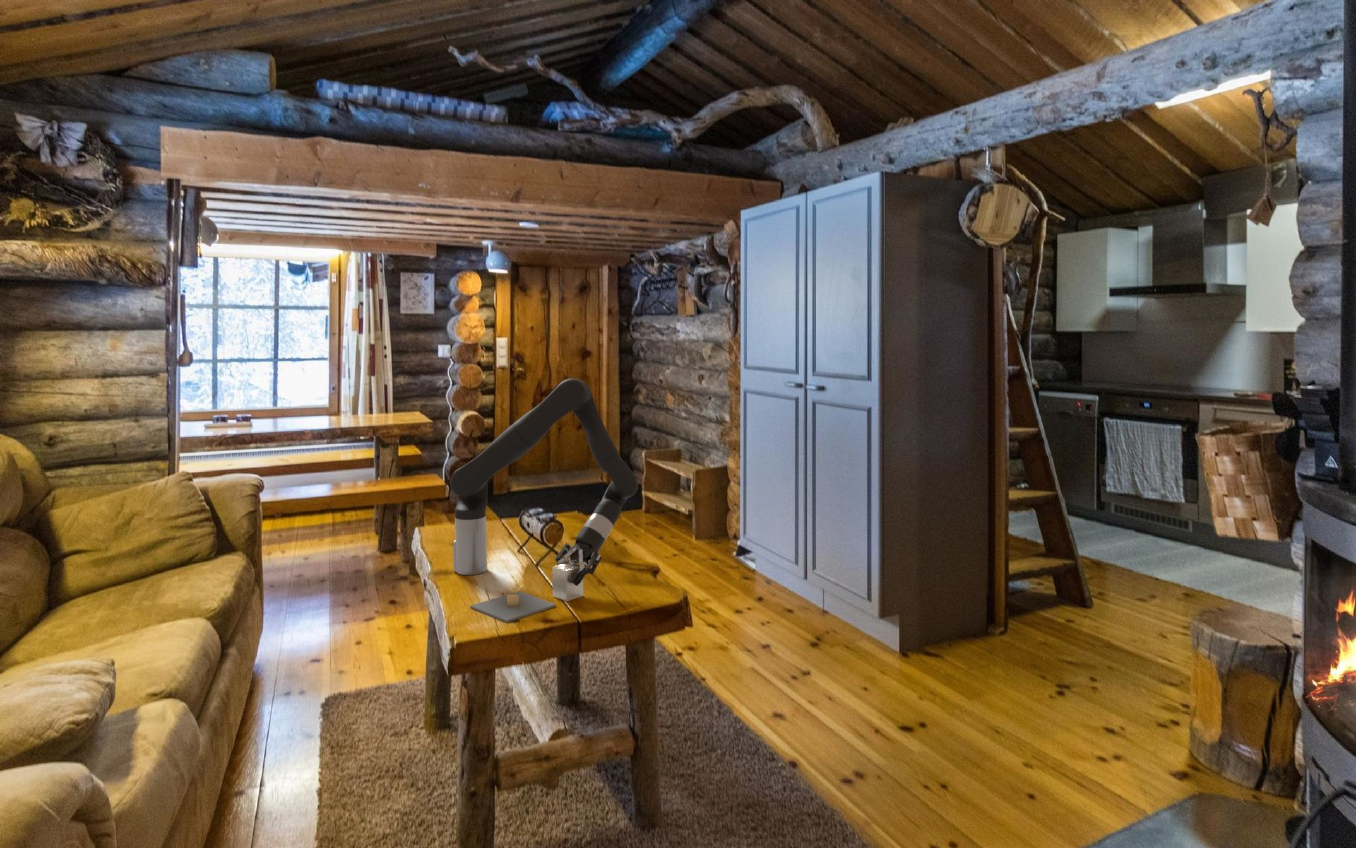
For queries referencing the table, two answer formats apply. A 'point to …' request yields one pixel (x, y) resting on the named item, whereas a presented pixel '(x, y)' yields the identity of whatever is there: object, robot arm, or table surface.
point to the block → (566, 582)
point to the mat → (512, 611)
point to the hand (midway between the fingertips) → (564, 580)
